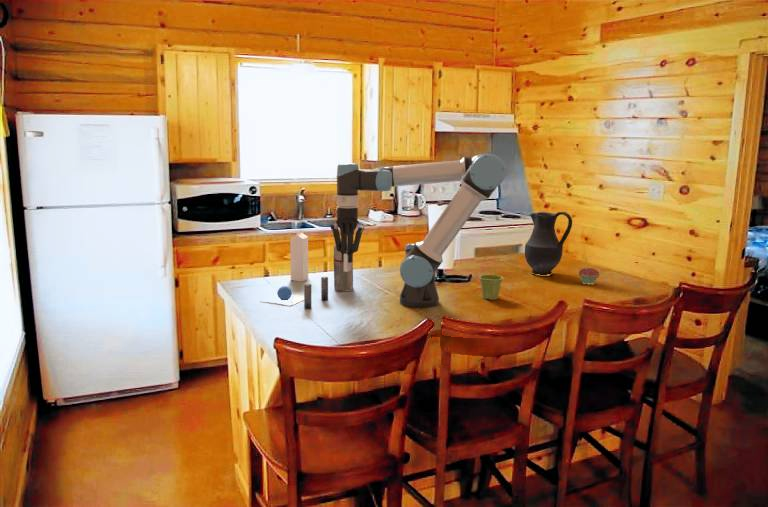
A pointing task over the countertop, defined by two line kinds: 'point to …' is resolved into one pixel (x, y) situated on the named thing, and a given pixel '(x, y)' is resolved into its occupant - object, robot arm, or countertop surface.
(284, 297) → the ball
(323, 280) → the right post
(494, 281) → the plant pot
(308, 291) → the left post
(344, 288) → the spray can
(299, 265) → the milk
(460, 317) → the countertop surface
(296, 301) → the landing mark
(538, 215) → the pitcher
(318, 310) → the countertop surface
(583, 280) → the cupcake
